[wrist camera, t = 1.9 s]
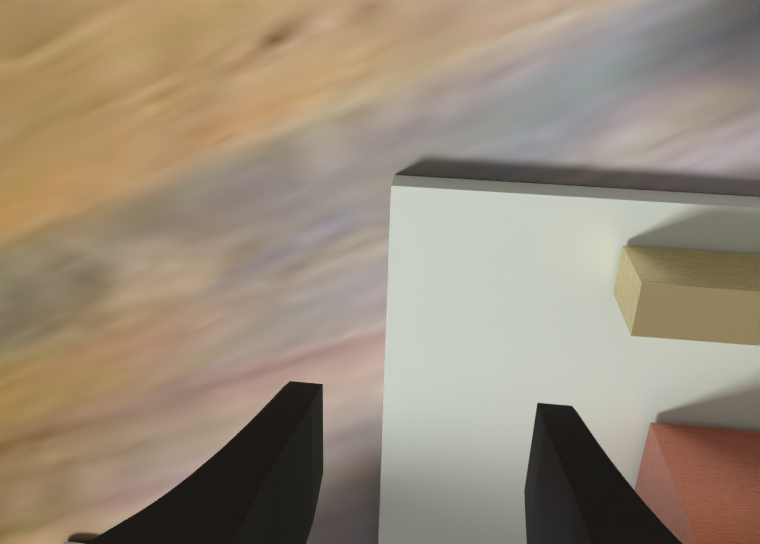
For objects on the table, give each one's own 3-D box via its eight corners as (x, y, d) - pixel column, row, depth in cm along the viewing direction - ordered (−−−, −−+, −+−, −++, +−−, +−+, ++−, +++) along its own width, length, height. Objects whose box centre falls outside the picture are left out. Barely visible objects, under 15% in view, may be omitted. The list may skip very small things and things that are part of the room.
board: (373, 717, 31) (371, 740, 31) (394, 174, 21) (391, 185, 20) (785, 769, 30) (795, 795, 29) (1036, 213, 19) (1065, 227, 18)
